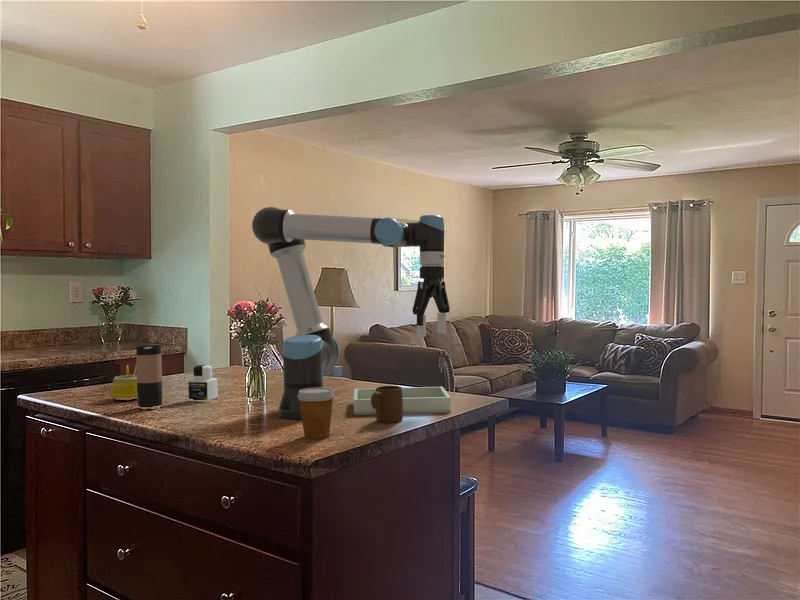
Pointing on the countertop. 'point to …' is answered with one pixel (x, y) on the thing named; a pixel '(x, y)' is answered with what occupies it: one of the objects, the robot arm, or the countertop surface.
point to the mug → (388, 404)
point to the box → (407, 400)
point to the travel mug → (149, 375)
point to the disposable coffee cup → (316, 411)
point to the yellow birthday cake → (125, 385)
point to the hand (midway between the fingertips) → (431, 334)
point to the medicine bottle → (203, 384)
